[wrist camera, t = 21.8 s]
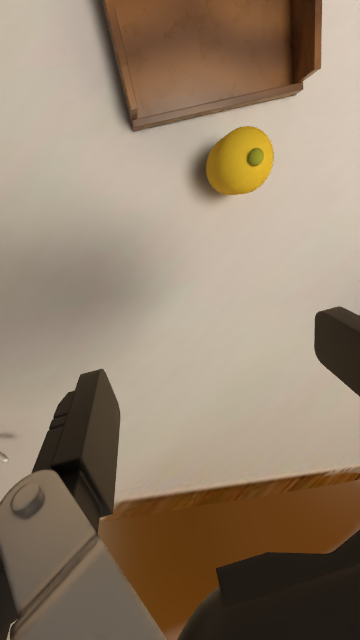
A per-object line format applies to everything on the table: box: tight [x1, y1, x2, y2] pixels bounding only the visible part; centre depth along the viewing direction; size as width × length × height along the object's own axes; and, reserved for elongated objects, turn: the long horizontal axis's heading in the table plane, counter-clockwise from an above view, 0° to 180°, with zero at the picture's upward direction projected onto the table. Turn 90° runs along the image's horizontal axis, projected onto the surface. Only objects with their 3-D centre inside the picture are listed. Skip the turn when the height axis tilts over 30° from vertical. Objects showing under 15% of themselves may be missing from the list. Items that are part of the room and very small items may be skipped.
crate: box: [102, 0, 322, 131], centre depth 25 cm, size 11×19×5 cm, turn 102°
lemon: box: [206, 126, 274, 195], centre depth 28 cm, size 6×6×10 cm
